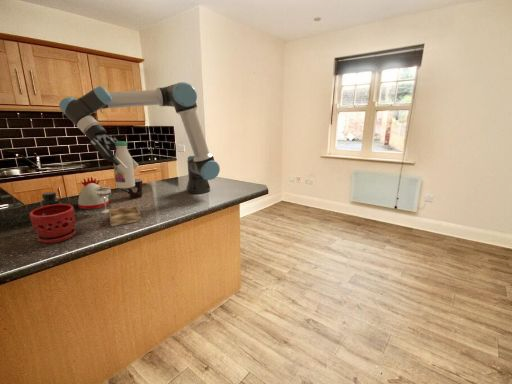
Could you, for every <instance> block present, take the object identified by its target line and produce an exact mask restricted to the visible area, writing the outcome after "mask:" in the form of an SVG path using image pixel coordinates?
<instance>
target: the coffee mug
mask: <svg viewBox="0 0 512 384" xmlns="http://www.w3.org/2000/svg"><path fill="white" fill-rule="evenodd" d="M119 189H120V190H122V192H123V191H124V192H126V193H127V194H128V195H129V197H130V198H129V199H134V200H135V199H141V198H142V197H143V178H142V179H141V178H135V186H134V187H131V188H127V190H125V189H124V188H119Z"/></svg>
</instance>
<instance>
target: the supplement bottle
mask: <svg viewBox="0 0 512 384" xmlns="http://www.w3.org/2000/svg"><path fill="white" fill-rule="evenodd" d="M41 196H42V199H41V200H40V207H43V206H47V205H53V204H61V201H60V199H59V198H58V197H57V194H56V192H55V191H50V192H49V191H48V192H43V193H42V194H41ZM56 212H57V211H56V210H55V211H54V213H56ZM45 215H46V213H43V214H42V216H45ZM49 215H52V214H51V213H50V214H49Z"/></svg>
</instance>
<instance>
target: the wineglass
mask: <svg viewBox="0 0 512 384" xmlns="http://www.w3.org/2000/svg"><path fill="white" fill-rule="evenodd" d="M95 190H96V191H95V194H96V196H98V197H99V198H102V199H104V204H105V206H104V209H103V210H101V211H100V213H101V214H106V213H107V214H109V210H110V209H108V208H107V205H106V200H105V199H106V198H107V197H108V198H109V197H110V196H111V195H112V190H111V186H109V185H108V186H107V185H105V186H100V187H97V188H95Z"/></svg>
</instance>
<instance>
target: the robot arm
mask: <svg viewBox="0 0 512 384" xmlns="http://www.w3.org/2000/svg"><path fill="white" fill-rule="evenodd" d="M197 99H198V94H197V91H196V88H194V86H193V85H192V84H190V83H188V82H177V83H174V84H170V85H168V86H163V87H157V88H156V89H150V90H148V89H147V90H144V89H143V90H121V91H107V89H106V88H104V87H103V86H101V85H98V86H96V87H94V88H93V89H92V90H89V92H87V93H85V94H84V95H81V97H78V98H75V97H72V96H68V97H64V98H63V99H61V100H60V102H59V105H58V107H59V109H60V111H61V112H62V113H63V114H64V115H65V116H66V118H67V119H69V120H70V121H71V122H72V123H73V124H74V125H75V126H76V127H77V128H78V130H80V131H81V132H82V133H83V134H84V135H85V137H87V138H88V139H89V140H90V141H89V144H90V145H91V146H92V147H94V149H96V151H97V152H98V153H99V154H100V156H101V157H102V158H103V159H104V160H105V161H107V162H108V163H111V162H112V163H113V165H114V164H115V165H116V166H117V167H118V168H119V169H120V170H121V171H122V172H125V170H126V169H127V167H126V166H125V165H124V163H123V162H122V161H121V160H120V159H119V158H118V157H115V154H114V153H113V152H112V150H113V151H114V152H116V145H115V142H119V141H120V140H118V139H117V138H116V137H115V136H113V137H110V135H108V134H107V130H106V129H105V128H104V127H103V126H102V124H100V122H99V121H97V119H95V117H93V114H95V113H96V112H97V111H99V110H101V109H102V110H104V109H118V108H130V107H133V108H134V107H143V106H144V107H145V106H146V107H147V106H159V107H173V108H174V110H175V113H176V114H177V115H179V116H180V118H181V119H180V120H181V122H182V124H183V127H184V130H185V132H186V133H185V134H186V135H187V139H188V141H189V144H190V148H191V149H192V153H193V155H189V156H188V157H187V160H186V163H187V173H188V174H187V175H188V181H187V185H186V192H187V193H189V194H196V195H197V194H205V193H209V192H210V191H211V185H210V183H209V181H212V180H215V178H217V177H218V176H219V173H220V169H221V168H220V164H219V163H218V162H217V161H216V160H215V158H214V155H213V153H211V152H210V151H209V149H208V148H209V147H208V145H207V142H206V138H205V135H204V133H203V130H202V125H201V123H200V119H199V117H198V114H197V109H198V104H197ZM127 150H128V152H129V154H130V155H131V151H130V150H129V149H128V148H127ZM114 157H115V158H114ZM131 158H132V161H133V168H134V170H136V169H137V168H138V166H139V163H138V162H137V161H135V159H133V157H132V156H131Z"/></svg>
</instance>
